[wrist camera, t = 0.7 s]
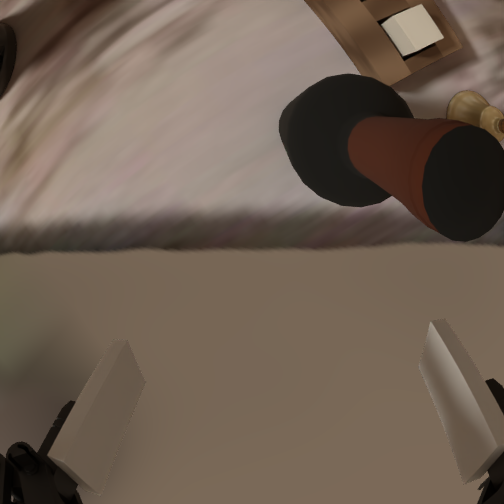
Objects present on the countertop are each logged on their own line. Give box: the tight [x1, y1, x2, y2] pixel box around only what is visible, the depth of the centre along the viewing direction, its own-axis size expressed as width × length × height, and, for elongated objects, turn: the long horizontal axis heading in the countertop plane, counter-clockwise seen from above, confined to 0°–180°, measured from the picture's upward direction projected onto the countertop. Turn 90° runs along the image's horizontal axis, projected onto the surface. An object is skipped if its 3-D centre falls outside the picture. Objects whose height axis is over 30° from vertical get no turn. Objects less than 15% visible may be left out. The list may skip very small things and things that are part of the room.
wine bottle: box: [279, 74, 504, 242], centre depth 19 cm, size 8×8×30 cm
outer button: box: [380, 4, 444, 57], centre depth 23 cm, size 4×4×5 cm
